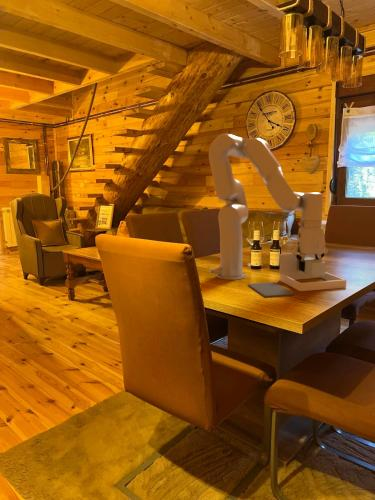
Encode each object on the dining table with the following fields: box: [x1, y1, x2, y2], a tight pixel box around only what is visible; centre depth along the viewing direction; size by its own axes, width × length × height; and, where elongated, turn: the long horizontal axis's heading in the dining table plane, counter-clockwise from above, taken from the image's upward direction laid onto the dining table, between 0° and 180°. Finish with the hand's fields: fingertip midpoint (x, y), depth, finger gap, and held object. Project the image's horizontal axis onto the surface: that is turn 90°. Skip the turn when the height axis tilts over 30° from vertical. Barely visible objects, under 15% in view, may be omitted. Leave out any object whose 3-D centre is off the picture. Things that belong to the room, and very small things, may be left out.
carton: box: [279, 252, 347, 292], centre depth 146 cm, size 19×18×11 cm
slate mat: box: [247, 281, 295, 298], centre depth 139 cm, size 11×17×1 cm, turn 11°
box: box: [297, 257, 327, 276], centre depth 146 cm, size 6×12×5 cm, turn 11°
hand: (309, 269), depth 147 cm, fingers closed on box, 5 cm apart
